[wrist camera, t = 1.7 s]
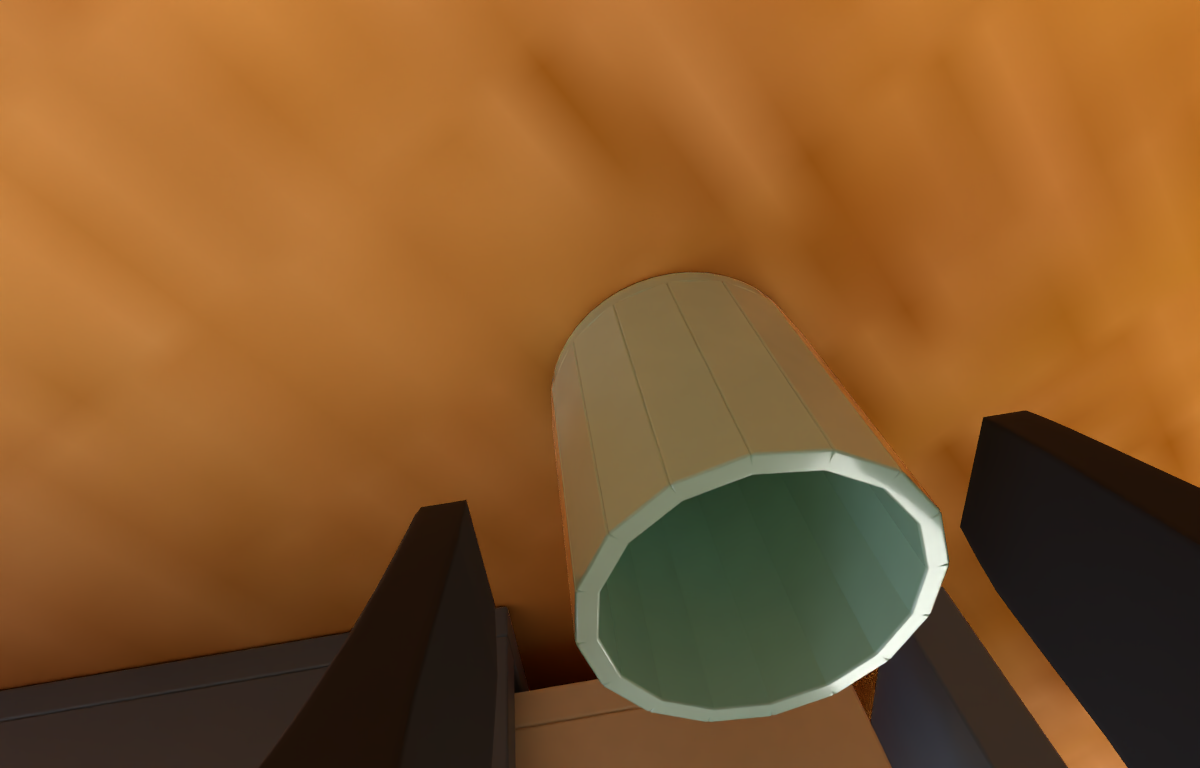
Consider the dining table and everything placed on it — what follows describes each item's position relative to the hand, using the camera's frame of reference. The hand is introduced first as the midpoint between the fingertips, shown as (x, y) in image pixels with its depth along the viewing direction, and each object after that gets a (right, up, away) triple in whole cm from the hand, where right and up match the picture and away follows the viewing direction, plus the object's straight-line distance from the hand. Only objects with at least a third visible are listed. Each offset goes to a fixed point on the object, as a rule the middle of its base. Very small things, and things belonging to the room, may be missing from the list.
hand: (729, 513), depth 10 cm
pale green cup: (0, +2, +3) cm, 3 cm away
